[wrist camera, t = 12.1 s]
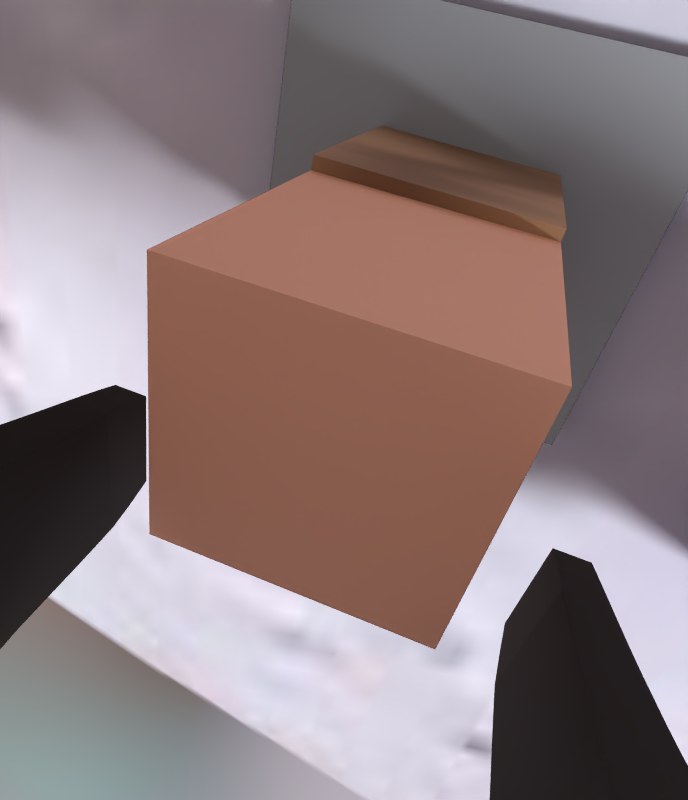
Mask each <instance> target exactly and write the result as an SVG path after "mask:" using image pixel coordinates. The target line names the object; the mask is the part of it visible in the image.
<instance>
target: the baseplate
mask: <svg viewBox="0 0 688 800" xmlns="http://www.w3.org/2000/svg"><path fill="white" fill-rule="evenodd" d="M380 126H385V127H389V128H393V129H396V130H400V131H403V132H407V133H410V134H414V135H418V136H421V137H425V138H428V139H432V140H436V141H439V142H443V143H446V144H450V145H453V146H457V147H461V148H464V149H468V150H471V151H475V152H479V153H482V154H486V155H489V156H493V157H496V158H500V159H504V160H507V161H511V162H514V163H518V164H522V165H525V166H529V167H532V168H536V169H539V170H543V171H547V172H550V173H554V174H557V175H561V183H562V192H563V201H564V209H565V218H566V226H567V229H566V231H565V234H564V236H563V238H562V240H561V249H562V262H563V276H564V289H565V302H566V315H567V328H568V341H569V354H570V367H571V380H572V388H571V390H570V392H569V394H568V396H567V398H566V400H565V402H564V403H563V405H562V407H561V409H560V411H559V413H558V415H557V417H556V419H555V421H554V423H553V425H552V426H551V428H550V430H549V432H548V434H547V436H546V438H545V440H544V442H545V443H548V444H551V445H552V444H553V442H554V440H555V438H556V436H557V434H558V433H559V431H560V429H561V427H562V425H563V423H564V421H565V419H566V418H567V416H568V414H569V412H570V410H571V408H572V406H573V404H574V403H575V401H576V399H577V397H578V395H579V393H580V391H581V389H582V388H583V386H584V384H585V382H586V380H587V378H588V376H589V374H590V373H591V371H592V369H593V367H594V365H595V363H596V361H597V359H598V358H599V356H600V354H601V352H602V350H603V348H604V346H605V344H606V343H607V341H608V339H609V337H610V335H611V333H612V331H613V329H614V328H615V326H616V324H617V322H618V320H619V318H620V316H621V314H622V313H623V311H624V309H625V307H626V305H627V303H628V301H629V299H630V298H631V296H632V294H633V292H634V290H635V288H636V286H637V284H638V283H639V281H640V279H641V277H642V275H643V273H644V271H645V269H646V268H647V266H648V264H649V262H650V260H651V258H652V256H653V254H654V253H655V251H656V249H657V247H658V245H659V243H660V241H661V239H662V238H663V236H664V234H665V232H666V230H667V228H668V226H669V224H670V223H671V221H672V219H673V217H674V215H675V213H676V211H677V209H678V208H679V206H680V204H681V202H682V200H683V198H684V196H685V194H686V193H687V191H688V57H686V56H681V55H677V54H673V53H668V52H664V51H660V50H655V49H651V48H646V47H642V46H638V45H633V44H629V43H625V42H620V41H616V40H612V39H607V38H603V37H599V36H594V35H590V34H586V33H581V32H577V31H573V30H568V29H564V28H560V27H555V26H551V25H547V24H542V23H538V22H534V21H529V20H525V19H520V18H516V17H512V16H507V15H503V14H499V13H494V12H490V11H486V10H481V9H477V8H473V7H468V6H464V5H460V4H455V3H451V2H447V1H442V0H291V8H290V17H289V26H288V35H287V44H286V52H285V61H284V70H283V79H282V88H281V96H280V105H279V114H278V123H277V132H276V140H275V149H274V158H273V167H272V176H271V184H270V190H271V189H273V188H275V187H277V186H280V185H282V184H284V183H286V182H288V181H290V180H292V179H294V178H296V177H298V176H300V175H302V174H304V173H306V172H308V171H310V170H311V166H312V160H313V154H316V153H318V152H320V151H323V150H325V149H328V148H330V147H332V146H335V145H337V144H339V143H342V142H344V141H346V140H349V139H351V138H354V137H356V136H358V135H361V134H363V133H365V132H368V131H370V130H373V129H375V128H377V127H380Z"/></svg>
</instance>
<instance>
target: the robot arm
mask: <svg viewBox="0 0 688 800" xmlns="http://www.w3.org/2000/svg"><path fill="white" fill-rule="evenodd" d="M145 482H146V396H144V395H141V394H138V393H135V392H133V391H130V390H127V389H125V388H122V387H119V386H117V385H114V386H111V387H107V388H104V389H101V390H98V391H95V392H92V393H89V394H86V395H83V396H80V397H78V398H75V399H72V400H69V401H66V402H63V403H61V404H58V405H55V406H52V407H50V408H47V409H44V410H41V411H38V412H36V413H33V414H30V415H27V416H24V417H21V418H19V419H16V420H13V421H10V422H7V423H4V424H1V425H0V649H1V648H2V647H3V645H4V644H5V643H6V642H7V640H9V639H10V637H11V636H12V635H13V634H14V633H15V632H16V631H17V629H18V628H19V627H20V626H21V625H22V624H23V623H24V622H25V621H26V620H27V619H28V617H30V615H31V614H32V613H33V612H34V611H35V610H36V609H37V608H38V607H39V606H40V605H41V604H42V603H43V602H44V600H46V598H47V597H48V596H49V595H50V594H51V593H52V592H53V591H54V590H55V589H56V588H57V587H58V586H59V585H60V584H61V583H62V581H63V580H64V579H65V578H66V577H67V576H68V575H69V574H70V573H71V572H72V571H73V570H74V569H75V568H76V567H77V566H78V565H79V563H80V562H81V561H82V560H83V559H84V558H85V557H86V556H87V555H88V554H89V553H90V552H91V551H92V549H93V548H94V547H95V546H96V545H97V544H98V543H99V542H100V541H101V540H102V539H103V538H104V536H105V535H106V534H107V533H108V532H109V531H110V530H111V529H112V528H113V526H114V525H115V524H116V522H117V521H118V520H119V518H120V517H121V516H122V514H123V513H124V512H125V510H126V509H127V508H128V506H129V505H130V503H131V502H132V501H133V499H134V498H135V496H136V495H137V493H138V492H139V491H140V489H141V488H142V486H143V485H144V483H145ZM490 800H688V765H687V763H686V762H685V760H684V758H683V756H682V754H681V752H680V750H679V748H678V746H677V745H676V743H675V741H674V739H673V737H672V735H671V733H670V731H669V729H668V727H667V725H666V723H665V721H664V719H663V717H662V715H661V713H660V710H659V708H658V706H657V704H656V702H655V700H654V698H653V696H652V694H651V692H650V690H649V688H648V686H647V684H646V682H645V680H644V678H643V675H642V673H641V671H640V669H639V667H638V665H637V663H636V660H635V658H634V656H633V654H632V652H631V650H630V647H629V645H628V643H627V641H626V638H625V636H624V634H623V632H622V630H621V627H620V625H619V623H618V621H617V618H616V616H615V614H614V612H613V609H612V607H611V605H610V602H609V600H608V598H607V596H606V593H605V591H604V589H603V587H602V584H601V582H600V580H599V578H598V576H597V573H596V571H595V569H594V567H593V565H592V563H591V562H588V561H585V560H583V559H580V558H577V557H575V556H572V555H569V554H567V553H564V552H561V551H559V550H556V549H552V550H551V552H550V554H549V555H548V557H547V558H546V560H545V561H544V563H543V565H542V566H541V568H540V569H539V571H538V572H537V574H536V576H535V577H534V579H533V580H532V582H531V583H530V585H529V587H528V588H527V590H526V591H525V593H524V594H523V596H522V598H521V599H520V601H519V602H518V604H517V605H516V607H515V608H514V610H513V612H512V613H511V615H510V616H509V618H508V619H507V621H506V623H505V626H504V632H503V638H502V644H501V649H500V655H499V661H498V668H497V675H496V681H495V693H494V713H493V734H492V758H491V783H490Z"/></svg>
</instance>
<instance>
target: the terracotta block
mask: <svg viewBox="0 0 688 800" xmlns="http://www.w3.org/2000/svg"><path fill="white" fill-rule="evenodd" d="M147 297H148V410H149V524H150V534H151V535H153V536H156V537H158V538H161V539H163V540H166V541H168V542H171V543H173V544H176V545H178V546H181V547H183V548H186V549H188V550H190V551H193V552H195V553H198V554H200V555H203V556H205V557H208V558H210V559H213V560H215V561H218V562H220V563H223V564H225V565H228V566H230V567H233V568H235V569H237V570H240V571H242V572H245V573H247V574H250V575H252V576H255V577H257V578H260V579H262V580H265V581H267V582H270V583H272V584H275V585H277V586H280V587H282V588H285V589H287V590H289V591H292V592H294V593H297V594H299V595H302V596H304V597H307V598H309V599H312V600H314V601H317V602H319V603H322V604H324V605H327V606H329V607H332V608H334V609H336V610H339V611H341V612H344V613H346V614H349V615H351V616H354V617H356V618H359V619H361V620H364V621H366V622H369V623H371V624H374V625H376V626H379V627H381V628H383V629H386V630H388V631H391V632H393V633H396V634H398V635H401V636H403V637H406V638H408V639H411V640H413V641H416V642H418V643H421V644H423V645H426V646H428V647H430V648H433V649H435V648H436V647H437V645H438V643H439V641H440V639H441V637H442V635H443V633H444V631H445V629H446V627H447V626H448V624H449V622H450V620H451V618H452V616H453V614H454V612H455V610H456V608H457V606H458V604H459V603H460V601H461V599H462V597H463V595H464V593H465V591H466V589H467V587H468V585H469V583H470V581H471V580H472V578H473V576H474V574H475V572H476V570H477V568H478V566H479V564H480V562H481V560H482V559H483V557H484V555H485V553H486V551H487V549H488V547H489V545H490V543H491V541H492V539H493V537H494V536H495V534H496V532H497V530H498V528H499V526H500V524H501V522H502V520H503V518H504V516H505V514H506V513H507V511H508V509H509V507H510V505H511V503H512V501H513V499H514V497H515V495H516V493H517V492H518V490H519V488H520V486H521V484H522V482H523V480H524V478H525V476H526V474H527V472H528V470H529V469H530V467H531V465H532V463H533V461H534V459H535V457H536V455H537V453H538V451H539V449H540V447H541V446H542V444H543V442H544V440H545V438H546V436H547V434H548V432H549V430H550V428H551V426H552V425H553V423H554V421H555V419H556V417H557V415H558V413H559V411H560V409H561V407H562V405H563V403H564V402H565V400H566V398H567V396H568V394H569V392H570V390H571V388H572V380H571V367H570V354H569V341H568V328H567V315H566V302H565V289H564V276H563V262H562V249H561V242H559V241H556V240H552V239H549V238H545V237H542V236H538V235H535V234H531V233H528V232H524V231H521V230H517V229H514V228H510V227H507V226H503V225H500V224H496V223H493V222H489V221H486V220H482V219H479V218H475V217H472V216H469V215H465V214H462V213H458V212H455V211H451V210H448V209H444V208H441V207H437V206H434V205H430V204H427V203H423V202H420V201H416V200H413V199H409V198H406V197H402V196H399V195H395V194H392V193H388V192H385V191H381V190H378V189H374V188H371V187H367V186H364V185H361V184H357V183H354V182H350V181H347V180H343V179H340V178H336V177H333V176H329V175H326V174H322V173H319V172H315V171H312V170H310V171H308V172H306V173H304V174H302V175H300V176H298V177H296V178H294V179H292V180H290V181H288V182H286V183H284V184H282V185H280V186H277V187H275V188H273V189H271V190H269V191H267V192H265V193H263V194H261V195H259V196H257V197H255V198H253V199H251V200H249V201H247V202H244V203H242V204H240V205H238V206H236V207H234V208H232V209H230V210H228V211H226V212H224V213H222V214H220V215H218V216H216V217H213V218H211V219H209V220H207V221H205V222H203V223H201V224H199V225H197V226H195V227H193V228H191V229H189V230H187V231H185V232H183V233H180V234H178V235H176V236H174V237H172V238H170V239H168V240H166V241H164V242H162V243H160V244H158V245H156V246H154V247H152V248H150V249H147Z"/></svg>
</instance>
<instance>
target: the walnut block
mask: <svg viewBox="0 0 688 800" xmlns="http://www.w3.org/2000/svg"><path fill="white" fill-rule="evenodd" d="M311 170H312V171H315V172H319V173H322V174H326V175H329V176H333V177H336V178H340V179H343V180H347V181H350V182H354V183H357V184H361V185H364V186H367V187H371V188H374V189H378V190H381V191H385V192H388V193H392V194H395V195H399V196H402V197H406V198H409V199H413V200H416V201H420V202H423V203H427V204H430V205H434V206H437V207H441V208H444V209H448V210H451V211H455V212H458V213H462V214H465V215H469V216H472V217H475V218H479V219H482V220H486V221H489V222H493V223H496V224H500V225H503V226H507V227H510V228H514V229H517V230H521V231H524V232H528V233H531V234H535V235H538V236H542V237H545V238H549V239H552V240H556V241H559V242H561V240H562V238H563V236H564V234H565V231H566V229H567V226H566V218H565V209H564V201H563V192H562V183H561V175H557V174H554V173H550V172H547V171H543V170H539V169H536V168H532V167H529V166H525V165H522V164H518V163H514V162H511V161H507V160H504V159H500V158H496V157H493V156H489V155H486V154H482V153H479V152H475V151H471V150H468V149H464V148H461V147H457V146H453V145H450V144H446V143H443V142H439V141H436V140H432V139H428V138H425V137H421V136H418V135H414V134H410V133H407V132H403V131H400V130H396V129H393V128H389V127H385V126H380V127H377V128H375V129H373V130H370V131H368V132H365V133H363V134H361V135H358V136H356V137H354V138H351V139H349V140H346V141H344V142H342V143H339V144H337V145H335V146H332V147H330V148H328V149H325V150H323V151H320V152H318V153H316V154H313V160H312V166H311Z"/></svg>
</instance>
